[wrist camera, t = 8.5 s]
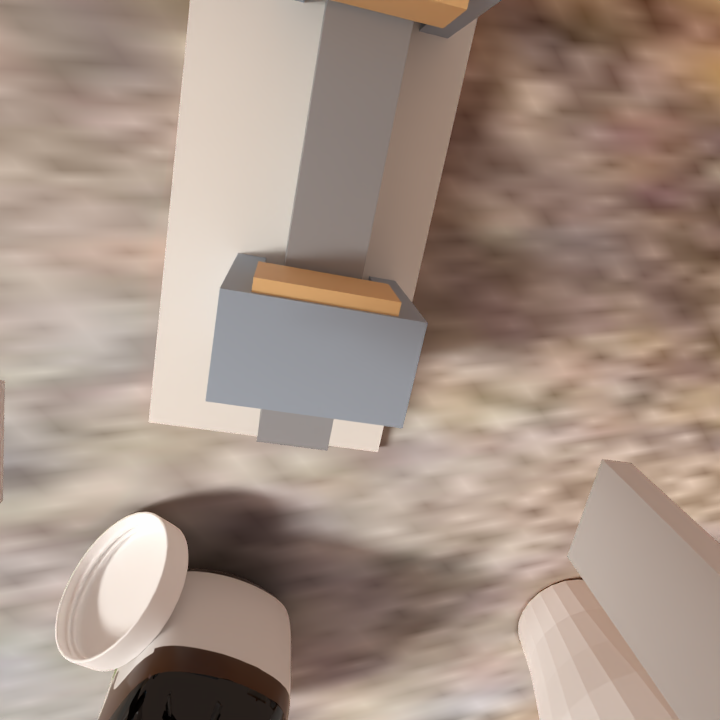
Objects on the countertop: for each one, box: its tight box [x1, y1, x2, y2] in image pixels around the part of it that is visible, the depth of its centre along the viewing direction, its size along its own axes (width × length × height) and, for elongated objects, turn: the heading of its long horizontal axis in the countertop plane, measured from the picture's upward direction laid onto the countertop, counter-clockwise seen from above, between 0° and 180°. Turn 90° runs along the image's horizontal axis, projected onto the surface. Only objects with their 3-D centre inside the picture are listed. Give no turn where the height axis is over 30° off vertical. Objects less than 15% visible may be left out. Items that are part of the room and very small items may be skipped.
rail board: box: [149, 0, 478, 452], centre depth 24 cm, size 11×27×4 cm, turn 169°
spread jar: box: [55, 512, 291, 720], centre depth 27 cm, size 12×11×12 cm
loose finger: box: [206, 253, 428, 428], centre depth 24 cm, size 7×4×7 cm, turn 79°
